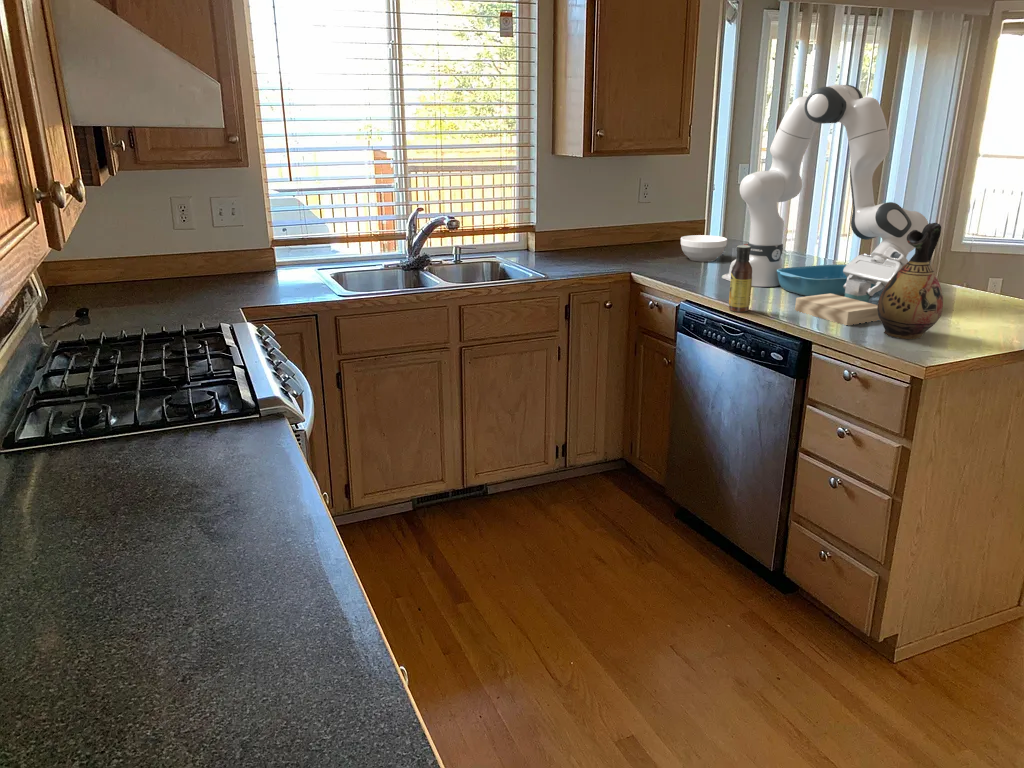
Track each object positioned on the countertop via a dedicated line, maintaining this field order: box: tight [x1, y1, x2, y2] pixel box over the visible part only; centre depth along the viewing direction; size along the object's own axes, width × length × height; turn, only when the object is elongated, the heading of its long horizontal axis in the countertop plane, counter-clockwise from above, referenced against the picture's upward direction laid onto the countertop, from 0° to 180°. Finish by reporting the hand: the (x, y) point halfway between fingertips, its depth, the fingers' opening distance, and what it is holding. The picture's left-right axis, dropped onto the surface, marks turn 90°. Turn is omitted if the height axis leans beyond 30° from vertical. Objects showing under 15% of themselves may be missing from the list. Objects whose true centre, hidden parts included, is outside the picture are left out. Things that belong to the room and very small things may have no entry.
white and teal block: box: [843, 279, 871, 303], centre depth 235 cm, size 5×5×8 cm
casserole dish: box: [777, 264, 875, 297], centre depth 257 cm, size 37×22×7 cm, turn 110°
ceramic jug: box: [877, 222, 944, 340], centre depth 200 cm, size 17×15×30 cm
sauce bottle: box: [728, 244, 752, 313], centre depth 229 cm, size 7×6×20 cm
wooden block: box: [794, 293, 880, 326], centre depth 225 cm, size 20×14×4 cm
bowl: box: [680, 234, 728, 263], centre depth 315 cm, size 19×19×9 cm
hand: (856, 291), depth 234 cm, fingers open, 8 cm apart
